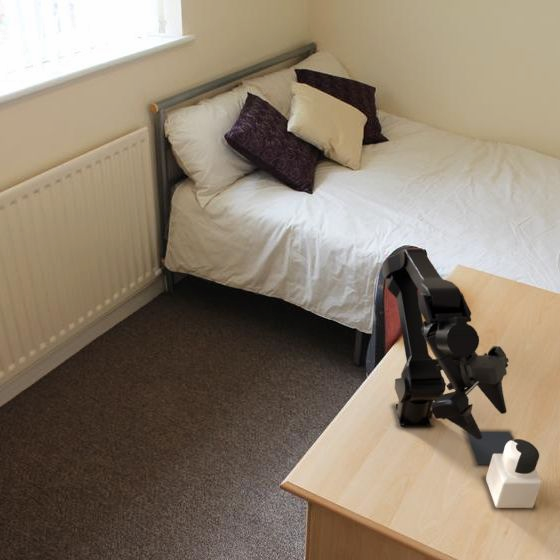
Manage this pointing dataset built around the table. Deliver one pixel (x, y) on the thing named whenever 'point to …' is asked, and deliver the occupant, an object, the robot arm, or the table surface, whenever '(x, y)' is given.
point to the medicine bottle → (514, 475)
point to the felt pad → (488, 445)
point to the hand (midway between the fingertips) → (492, 425)
